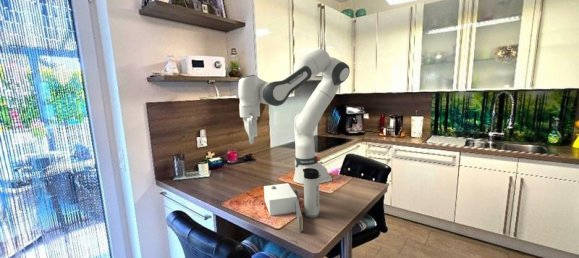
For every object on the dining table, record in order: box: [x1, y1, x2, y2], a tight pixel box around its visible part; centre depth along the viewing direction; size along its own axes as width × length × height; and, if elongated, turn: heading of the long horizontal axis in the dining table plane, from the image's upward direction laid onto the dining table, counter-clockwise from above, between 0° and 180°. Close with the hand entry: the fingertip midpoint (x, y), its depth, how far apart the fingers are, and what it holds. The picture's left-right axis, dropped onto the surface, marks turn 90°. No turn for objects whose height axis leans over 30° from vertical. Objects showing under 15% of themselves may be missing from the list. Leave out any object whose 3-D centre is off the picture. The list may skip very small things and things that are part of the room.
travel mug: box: [303, 168, 320, 219], centre depth 103 cm, size 6×7×20 cm
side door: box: [295, 197, 304, 232], centre depth 99 cm, size 16×1×6 cm, turn 3°
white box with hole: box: [263, 182, 299, 217], centre depth 113 cm, size 14×16×8 cm
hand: (251, 143), depth 111 cm, fingers closed
